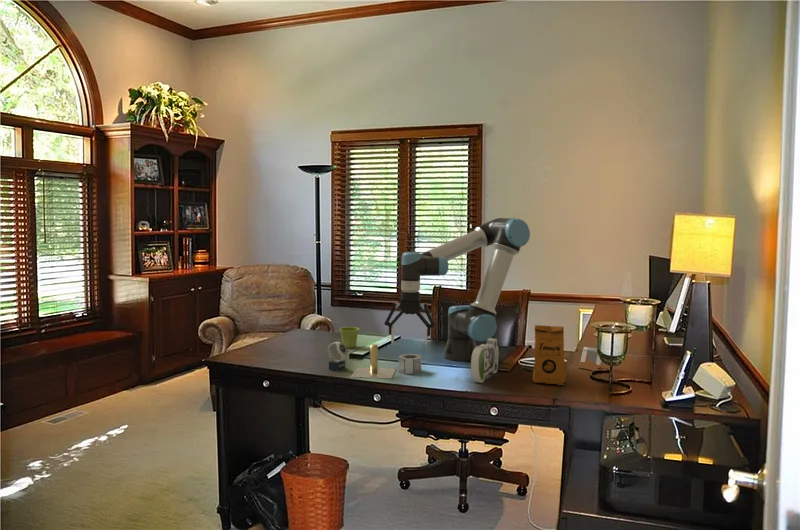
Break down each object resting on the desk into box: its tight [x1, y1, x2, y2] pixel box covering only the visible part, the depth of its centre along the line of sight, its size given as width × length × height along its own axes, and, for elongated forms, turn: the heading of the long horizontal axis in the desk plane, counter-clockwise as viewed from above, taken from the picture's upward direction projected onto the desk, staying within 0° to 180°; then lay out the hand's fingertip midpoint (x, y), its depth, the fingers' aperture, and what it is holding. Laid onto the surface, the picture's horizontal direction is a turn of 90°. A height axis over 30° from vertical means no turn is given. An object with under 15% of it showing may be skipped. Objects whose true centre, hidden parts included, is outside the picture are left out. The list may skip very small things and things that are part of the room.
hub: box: [398, 353, 423, 375], centre depth 254 cm, size 9×9×6 cm
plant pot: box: [339, 326, 360, 349], centre depth 298 cm, size 9×9×9 cm
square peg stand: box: [350, 344, 397, 379], centre depth 250 cm, size 16×14×11 cm
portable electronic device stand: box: [580, 346, 602, 366], centre depth 259 cm, size 9×8×8 cm
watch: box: [327, 341, 348, 372], centre depth 257 cm, size 6×8×11 cm
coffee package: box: [532, 324, 567, 386], centre depth 237 cm, size 10×12×22 cm
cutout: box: [470, 337, 499, 384], centre depth 244 cm, size 15×3×25 cm
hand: (409, 343), depth 253 cm, fingers open, 13 cm apart
